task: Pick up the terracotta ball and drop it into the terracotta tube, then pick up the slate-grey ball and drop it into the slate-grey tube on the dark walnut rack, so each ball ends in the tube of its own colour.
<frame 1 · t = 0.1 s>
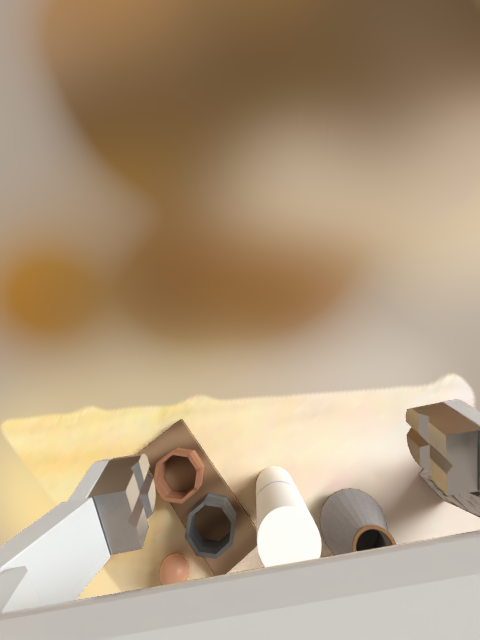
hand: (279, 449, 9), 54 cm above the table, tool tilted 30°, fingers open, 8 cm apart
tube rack: (199, 492, 58), on the table
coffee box: (446, 470, 57), on the table
cylindrical container: (274, 486, 58), on the table
terracotta ball: (174, 571, 52), point 2 cm above the table
coffee pot: (372, 535, 55), on the table
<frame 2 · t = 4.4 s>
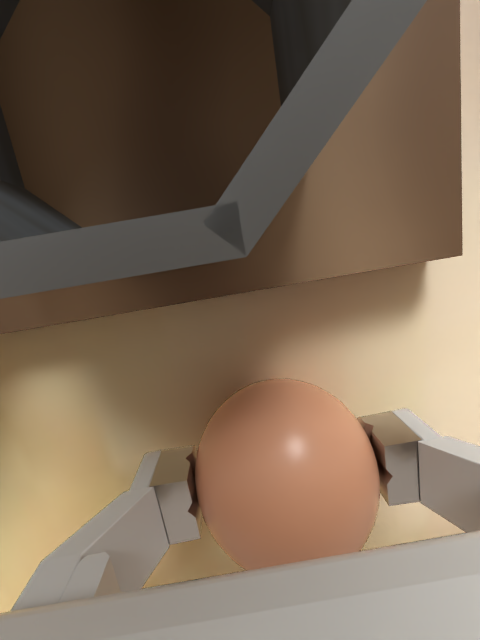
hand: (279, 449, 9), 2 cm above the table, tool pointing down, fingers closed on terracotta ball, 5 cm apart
terracotta ball: (283, 467, 9), point 2 cm above the table, touching gripper
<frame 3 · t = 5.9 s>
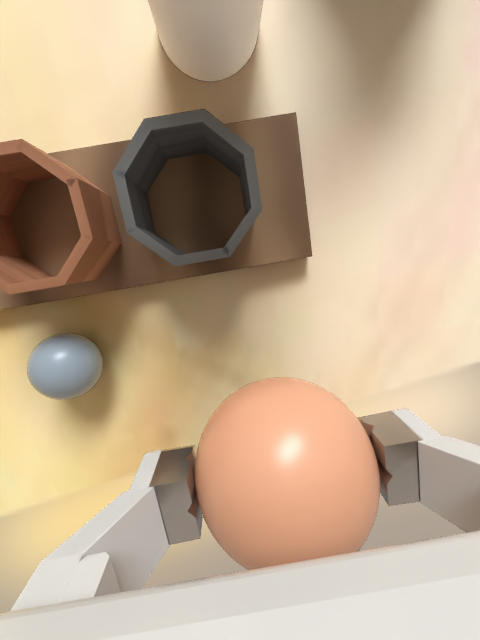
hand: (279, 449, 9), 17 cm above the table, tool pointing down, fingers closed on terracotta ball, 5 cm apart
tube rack: (135, 219, 23), on the table
cylindrical container: (208, 25, 21), on the table
terracotta ball: (283, 466, 9), point 17 cm above the table, touching gripper
slate ball: (66, 365, 23), point 2 cm above the table
when the fingers open (11 cm above the table, at t = 7.3 s): terracotta ball drops 8 cm, resting on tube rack.
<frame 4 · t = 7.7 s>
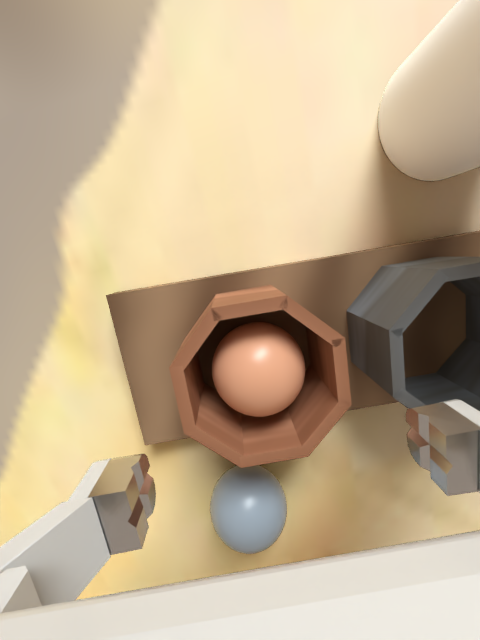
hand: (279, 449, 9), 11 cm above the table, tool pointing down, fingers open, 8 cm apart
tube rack: (325, 333, 20), on the table
cylindrical container: (435, 117, 18), on the table
terracotta ball: (258, 368, 16), point 4 cm above the table, touching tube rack
slate ball: (248, 505, 20), point 2 cm above the table
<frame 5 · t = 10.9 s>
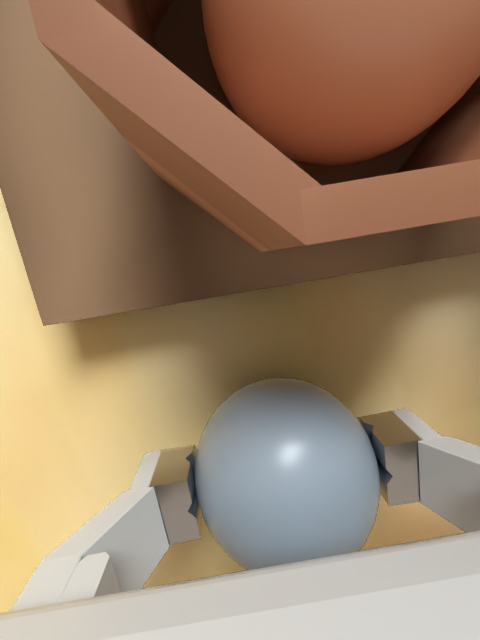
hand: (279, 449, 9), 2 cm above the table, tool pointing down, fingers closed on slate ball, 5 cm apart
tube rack: (455, 79, 9), on the table
slate ball: (283, 467, 9), point 2 cm above the table, touching gripper
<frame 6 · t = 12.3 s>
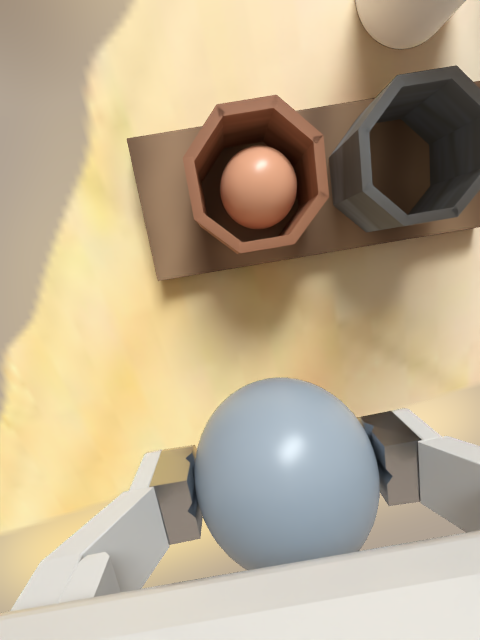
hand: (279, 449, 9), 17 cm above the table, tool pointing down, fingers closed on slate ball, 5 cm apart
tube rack: (312, 188, 24), on the table
terracotta ball: (258, 189, 20), point 4 cm above the table, tilted 7°, touching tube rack
slate ball: (283, 466, 9), point 17 cm above the table, touching gripper
when the fingers open (11 cm above the table, at t = 13.7 s): slate ball drops 8 cm, resting on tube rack.
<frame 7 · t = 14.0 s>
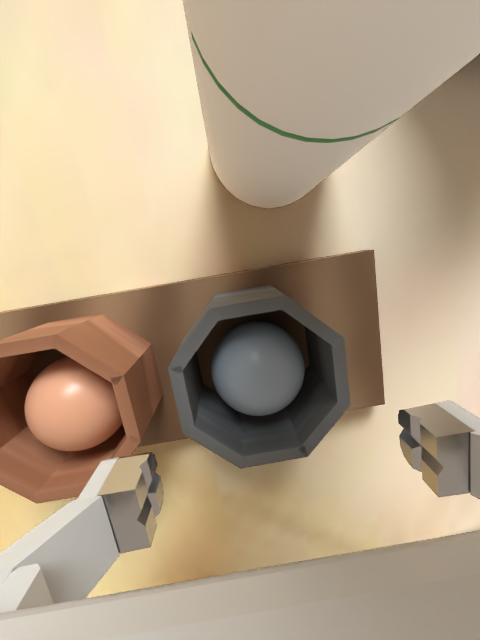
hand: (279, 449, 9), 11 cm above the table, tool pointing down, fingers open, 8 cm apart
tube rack: (177, 358, 20), on the table
cylindrical container: (269, 145, 18), on the table
terracotta ball: (81, 400, 16), point 4 cm above the table, tilted 9°, touching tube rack
slate ball: (257, 367, 16), point 4 cm above the table, touching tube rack
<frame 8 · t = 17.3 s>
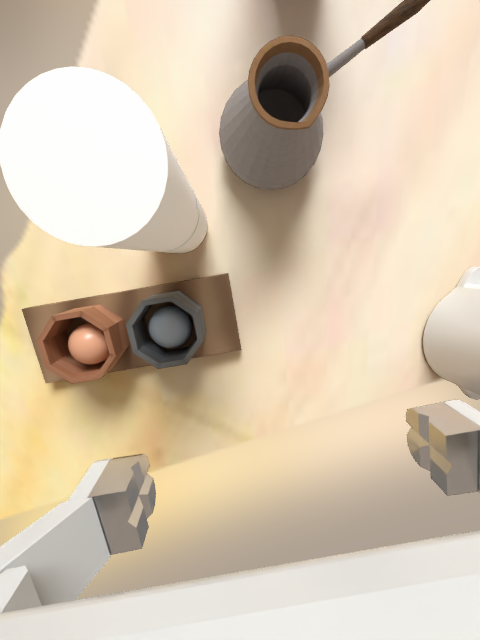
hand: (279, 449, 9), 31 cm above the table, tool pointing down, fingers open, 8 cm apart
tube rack: (137, 327, 40), on the table
cylindrical container: (178, 224, 38), on the table
terracotta ball: (92, 343, 36), point 4 cm above the table, tilted 13°, touching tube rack
coffee pot: (304, 122, 36), on the table
slate ball: (170, 326, 36), point 4 cm above the table, touching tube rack
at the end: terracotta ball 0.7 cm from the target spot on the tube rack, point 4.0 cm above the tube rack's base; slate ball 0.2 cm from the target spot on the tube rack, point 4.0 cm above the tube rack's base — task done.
